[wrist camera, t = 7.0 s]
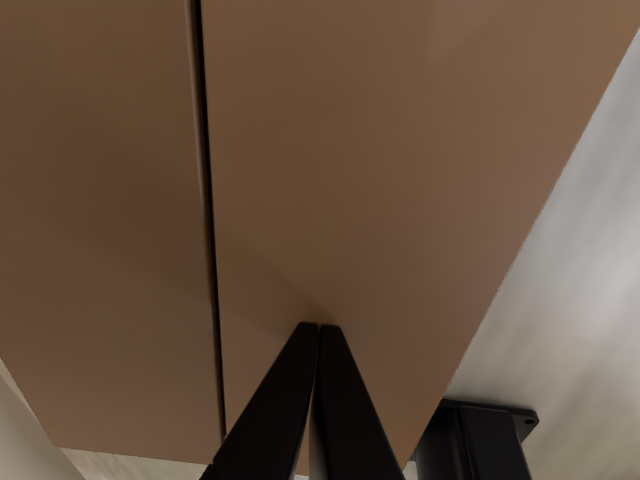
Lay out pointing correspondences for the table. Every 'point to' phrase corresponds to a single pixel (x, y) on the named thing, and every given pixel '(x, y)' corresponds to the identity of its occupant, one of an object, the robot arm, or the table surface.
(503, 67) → the flap
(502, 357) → the table surface
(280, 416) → the robot arm
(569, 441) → the table surface
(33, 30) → the carton
